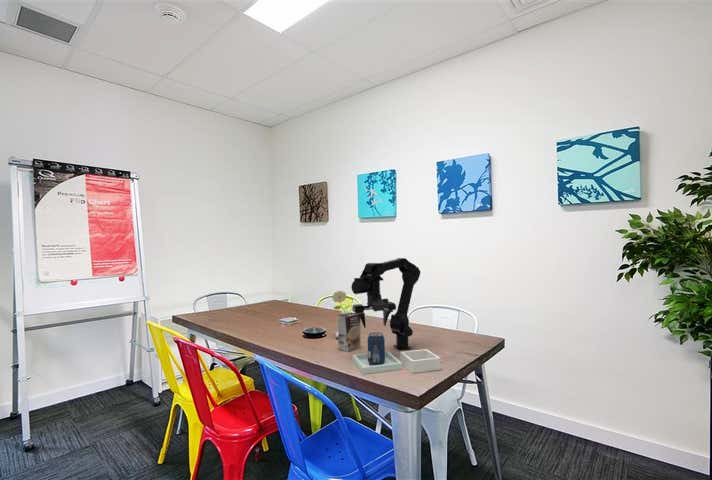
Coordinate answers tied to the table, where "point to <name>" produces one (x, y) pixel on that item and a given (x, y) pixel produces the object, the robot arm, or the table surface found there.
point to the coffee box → (349, 332)
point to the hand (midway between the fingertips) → (374, 326)
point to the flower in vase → (339, 298)
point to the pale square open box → (420, 361)
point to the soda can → (376, 349)
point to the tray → (366, 368)
